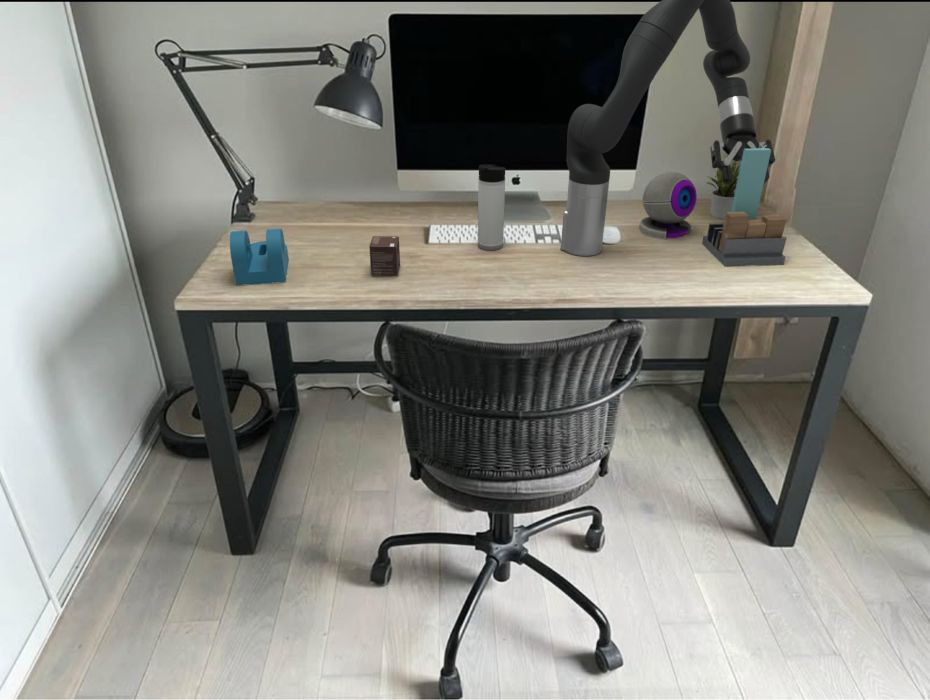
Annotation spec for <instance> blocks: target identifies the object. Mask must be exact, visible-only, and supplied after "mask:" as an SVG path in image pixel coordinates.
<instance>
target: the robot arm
mask: <svg viewBox="0 0 930 700" xmlns="http://www.w3.org/2000/svg"><path fill="white" fill-rule="evenodd" d="M697 12H699V14H700V18H701V21H702V27H703V30H704V31H703V32H704V36H705V40H706V44H707V46H708V47H709V48H710V49H711V50H710V51H708V52H707V53H706V54H705V55H704V58H703V62H702V64H703V71H704V73H705V75H706V77H707V79H708V80H709V82H710V83H711V86H712V87H713V89H714V92H715V96H716V102H717V109H718V123H719V127H720V133H721V140H722V142H720V141H719V140H714V142H713V143H712V145H711V146H710V147H709V148H710V161H711V166H712V167H713V168H714V169H718V168H719V169H720V170H721V172H722V178H723V181H724V182H725V184H730V183H731V182H732V174H731V168H730V166H728V165H729V164H731V163H732V161H733V160H735V161H736V162H740V161H742V156H743V151H744V149H750V148H769V149H770V150H771V153H770V158H769V162H768V167H767V171H766V176H765V180H764V184H766V183H767V182H768V181H769V179H770V172H769V168H771V167H772V165H773V164H774V163H775V162H776V156H775V152H774V149H773V146H772V145H773V144H772V140H770V139H766V140H765V141H759V140H758V139H757V130H756V124H755V119H754V113H753V108H752V104H751V101H750V97H749V92H748V85H747V82H746V81H745V79H744V78H742V77H738V76H735V75H738V74H742V73H744V72H745V71H746V70H747V69H748V68H749V66H750V62H751V54H750V51H749V49H748V48H747V45H746V44H745V43H744V40H743V39H742V37H741V36H740V34H739V31H738V30H739V29H738V25H737V19H736V13H735V9H734V6H733V4H732V2H731V0H660V1H659V2H658V3H656V4H655V5H653V6H652V7H651V8H650V9H648V11H646V12H645V13H644V14H643V16H642V17H641V18H640V20H639V21H638V23H637V24H636V26H635V27H634V29H633V31H632V33H631V34H630V35H629V37H628V39H627V41H626V43H625V46H624V48H623V52H622V56H621V57H622V58H621V62H620V70H619V76H618V78H617V82H616V84H615V86H614V89H613V90H612V91H611V93H610V95H609V96H608V98H607V99H606V101H605V103H604V104H603V106H600V105H597V104H592V103H585V104H581V105H579V106H578V107H577V108H576V109H575V110H574V111H573V112H572V114H571V117H570V119H569V122H568V127H567V135H566V136H567V139H566V142H567V143H566V166H567V168H568V185H567V199H566V209H565V210H563V214H562V215H563V216H562V227H561V240H560V250H561V251H564V252H566V253H568V254H570V255H573V256H583V257H587V256H588V257H589V256H595V255H598V254H601V252H602V250H603V243H604V233H605V225H606V224H605V223H606V217H607V215H606V214H607V206H608V198H609V197H608V196H609V187H610V186H609V185H610V179H611V178H610V177H611V167H610V165H608V163H607V161H605V159H604V156H603V154H604V153H607V152H609V151H612V149H613V148H615V147H616V145H617V144H618V143H619V141H620V140H621V138H622V137H623V135H624V133H625V131H626V129H627V128H628V125H629V123H630V121H631V119H632V117H633V116H634V113H635V112H636V109H637V108H638V105H639V104H640V102H641V100H642V99H643V96H644V95H645V93H646V92H647V90H648V88H649V87H650V85H651V84H652V82H653V80H654V79H655V78H656V75H657V73H658V72H659V70H660V69H661V68H662V66H663V65H664V63H665V62H666V61H667V59H668V57H669V56H670V55H671V52H672V51H673V49H674V48H675V46H676V44H677V43H678V41H679V39H680V37H681V36H682V34H683V32H684V31H685V29H686V28H687V26H688V25H689V23H690V22H691V20H692V19H693V18H694V17H695V14H696V13H697ZM732 76H733V77H732ZM722 150H723V152H725V154H726V156H725V159H724V160H722V157H721V156H722V154H721V151H722ZM712 167H711V168H712ZM713 168H712V169H713ZM764 184H763V185H764Z"/></svg>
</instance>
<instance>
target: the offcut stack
mask: <svg viewBox="0 0 930 700" xmlns="http://www.w3.org/2000/svg"><path fill="white" fill-rule="evenodd" d="M761 216H762V217H761V219H756V220H749V217H750V216H749V215H747V214H746V213H745V212H726V216H725V219H724V222H723V223H724V226H723V231H722V236H721V240H720V245H719V250H720V251H721V252H722V253H723V248H724V243H725V239H726V238H754V237H783V234H784V231H785V226H786V223H787V219H786V218H785V217H784V216H782V215H780V214H776V215H775V214H773V215H771V214H770V215H761Z"/></svg>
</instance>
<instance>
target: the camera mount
mask: <svg viewBox="0 0 930 700" xmlns="http://www.w3.org/2000/svg"><path fill="white" fill-rule="evenodd" d="M229 251H230V252H229V254H230V258H231V265H232V270H233V276H234V281H235V286H244V285H243V284H250V285H261V283H265V284H274V283H275V282H280V283H286V282H287V277H286V276H288V269H289V268H288V267H289V251H288V246H287V244H286V242H285V237H284V231H283V228H269V229H266V232H265V240H263V241H257V242H253V243H251V239H250V236H249V233H248V231H247V230H232V231H230V234H229ZM272 282H274V283H272Z"/></svg>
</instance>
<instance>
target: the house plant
mask: <svg viewBox="0 0 930 700" xmlns="http://www.w3.org/2000/svg"><path fill="white" fill-rule="evenodd" d="M724 156H725V157H727V154H724ZM705 164H707V165H708V166H710V168H712V169H713V170H715V168H713V167H712V164H711V165H710V164H709V163H708V162H707V163H706V162H705ZM728 166H730V168H731V174H732V182H731V183H730V184H725V182H724V181H723V178H722V172H721V170H720V169H719V168H717V170H716V171H715V173H716V175H714V176H715V178H714V177H711V176H706V177H707V178H708V179H710V180H711V181H712V182H713V183H715V184H716V185H717V187H716V185H715V184H713V183H712V182H711V181H710V182H709V181H708V182H706V184H708V185H711V186H712V187H714V188H715V189H714V190H712V191H711V195H710V196H711V201H710V202H711V206H710V207H711V210H710V216H711V215H712V216H711V217H713V218H716V219H719V218H720V220H721V219H722V220H725V216H726V212H731V209H732V205H733V200H734V195H735V190H736V185H737V180H738V175H739V171H740V166H741V164H739V165H738V166H737V161H735V160H733V159H732V160H731V163H730V164H729V165H728ZM716 179H717V180H716ZM717 188H718V189H717Z"/></svg>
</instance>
